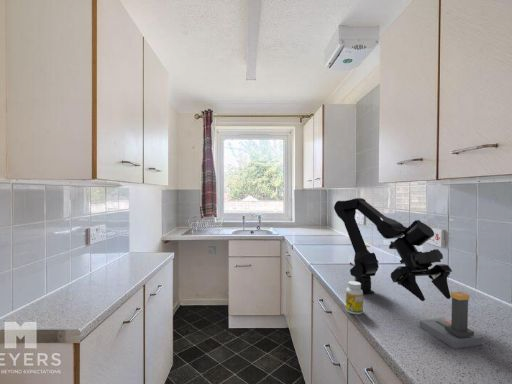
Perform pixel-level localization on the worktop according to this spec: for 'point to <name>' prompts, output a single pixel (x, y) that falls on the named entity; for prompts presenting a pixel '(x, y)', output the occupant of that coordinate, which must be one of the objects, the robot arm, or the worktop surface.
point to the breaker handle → (459, 315)
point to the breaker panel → (448, 333)
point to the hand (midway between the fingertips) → (436, 299)
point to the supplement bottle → (354, 298)
